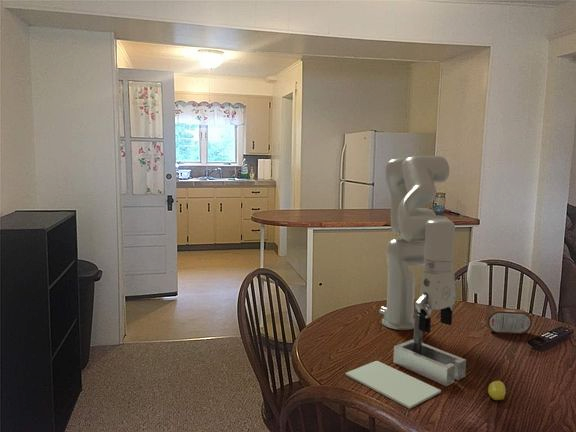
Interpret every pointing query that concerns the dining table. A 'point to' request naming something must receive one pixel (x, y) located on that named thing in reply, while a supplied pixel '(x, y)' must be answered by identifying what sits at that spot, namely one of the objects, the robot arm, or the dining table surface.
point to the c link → (430, 362)
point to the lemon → (497, 390)
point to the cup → (477, 276)
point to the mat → (393, 384)
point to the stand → (417, 335)
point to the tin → (508, 321)
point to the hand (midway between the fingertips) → (435, 327)
